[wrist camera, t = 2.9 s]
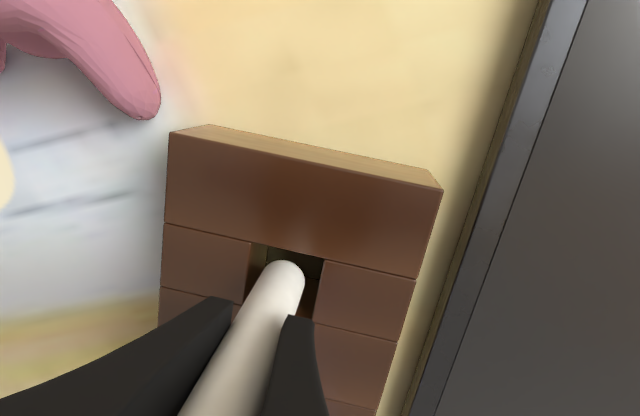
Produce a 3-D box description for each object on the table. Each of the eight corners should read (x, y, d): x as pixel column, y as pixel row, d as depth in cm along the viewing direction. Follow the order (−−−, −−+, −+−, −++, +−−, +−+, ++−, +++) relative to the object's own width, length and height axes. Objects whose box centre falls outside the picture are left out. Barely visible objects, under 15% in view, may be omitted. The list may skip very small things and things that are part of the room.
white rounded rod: (303, 294, 13) (221, 553, 6) (263, 284, 14) (131, 527, 6) (311, 256, 13) (231, 486, 5) (269, 247, 13) (134, 460, 5)
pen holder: (349, 446, 18) (346, 513, 15) (182, 403, 18) (149, 460, 16) (428, 169, 14) (445, 189, 11) (208, 123, 14) (167, 131, 11)
